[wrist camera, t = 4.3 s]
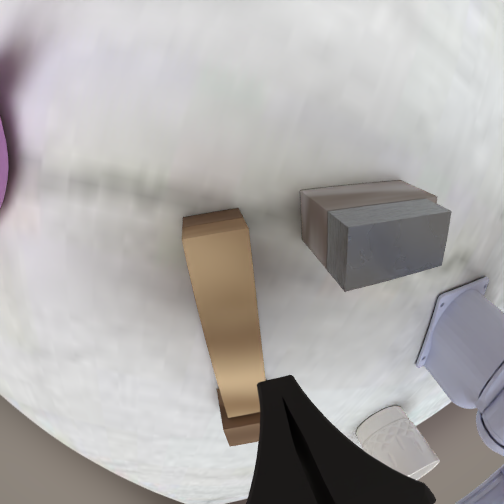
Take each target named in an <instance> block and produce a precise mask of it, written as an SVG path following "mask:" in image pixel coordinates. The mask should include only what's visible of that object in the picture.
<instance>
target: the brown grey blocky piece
mask: <svg viewBox="0 0 504 504" xmlns="http://www.w3.org/2000/svg"><path fill="white" fill-rule="evenodd" d="M419 199H428V200H430V201H432V202H434V203H436V204H437V196H435V195H433V194H430V193H428V192H426V191H424V190H422V189H419V188H417V187H415V186H413V185H410V184H408V183H406V182H403V181H401V180H397V181H385V182H373V183H363V184H353V185H343V186H334V187H325V188H316V189H308V190H300V200H301V227H302V240H303V241H304V243H305V244H306V245H307V246H308V247H309V249H310V250H311V251H312V252H313V253H314V255H315V256H316V257H317V258H318V259H319V261H320V262H321V263H322V264H323V266H324V267H325V268H326V269H327V246H328V211H334V210H341V209H349V208H356V207H363V206H371V205H378V204H386V203H394V202H402V201H410V200H419ZM237 218H243V216H242V214H241V212H240V210H239V208H236V209H229V210H223V211H217V212H211V213H205V214H199V215H194V216H188V217H183V227H182V228H184V227H190V226H196V225H201V224H207V223H213V222H219V221H225V220H231V219H237ZM265 380H266V379H265ZM217 393H218V400H219V406H220V412H221V418H222V424H223V430H224V433H225V435H226V438H227V440H228V443H229V446H236V445H241V444H247V443H252V442H257V441H259V433H260V412H257V413H252V414H247V415H242V416H236V417H231V418H228V416H227V413H226V409H225V406H224V403H223V400H222V396H221V393H220V390H219V389H217Z"/></svg>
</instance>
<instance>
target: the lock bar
mask: <svg viewBox="0 0 504 504" xmlns="http://www.w3.org/2000/svg"><path fill="white" fill-rule="evenodd" d="M450 216H451V211H450V210H448V209H446V208H444V207H442V206H440V205H438V204H436V203H434V202H432V201H430V200H428V199H419V200H410V201H402V202H394V203H386V204H378V205H371V206H363V207H356V208H349V209H341V210H334V211H328V246H327V270H328V272H329V273H330V274H331V275H332V277H333V278H334V279H335V280H336V281H337V283H338V284H339V285H340V286H341V288H342V289H343V290H344V291H349V290H353V289H357V288H361V287H365V286H369V285H373V284H377V283H381V282H384V281H388V280H392V279H396V278H399V277H403V276H406V275H410V274H414V273H417V272H421V271H424V270H427V269H431V268H434V267H438V266H441V265H442V261H443V256H444V251H445V246H446V241H447V235H448V229H449V223H450Z"/></svg>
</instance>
